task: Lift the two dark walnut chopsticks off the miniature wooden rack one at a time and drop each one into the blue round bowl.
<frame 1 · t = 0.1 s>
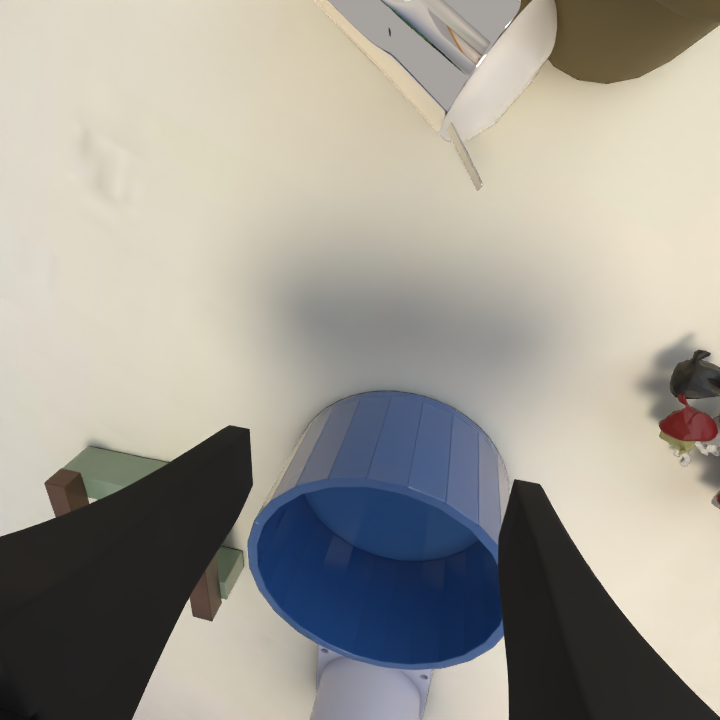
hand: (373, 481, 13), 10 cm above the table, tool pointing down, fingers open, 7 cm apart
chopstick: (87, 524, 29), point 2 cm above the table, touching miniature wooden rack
blue round bowl: (397, 482, 26), on the table
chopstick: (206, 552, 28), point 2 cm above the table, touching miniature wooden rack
miniature wooden rack: (168, 508, 31), on the table
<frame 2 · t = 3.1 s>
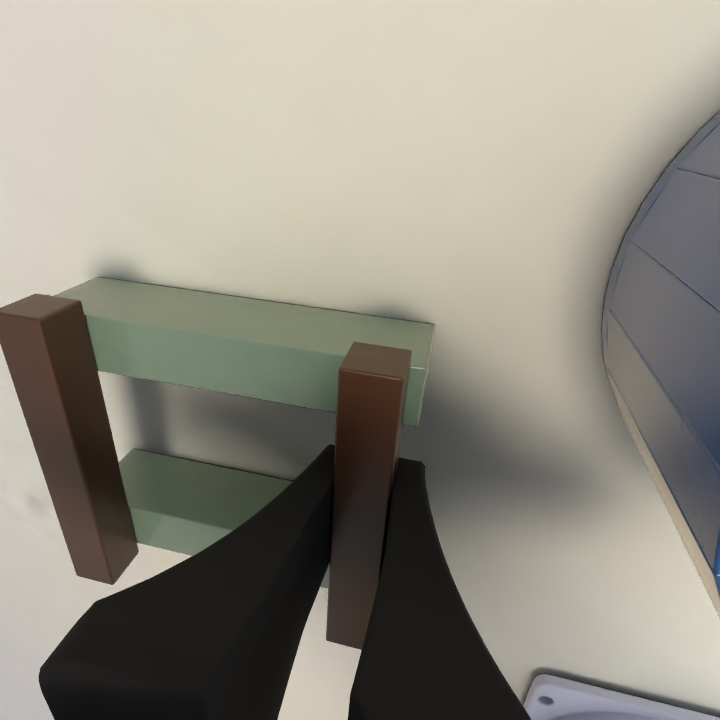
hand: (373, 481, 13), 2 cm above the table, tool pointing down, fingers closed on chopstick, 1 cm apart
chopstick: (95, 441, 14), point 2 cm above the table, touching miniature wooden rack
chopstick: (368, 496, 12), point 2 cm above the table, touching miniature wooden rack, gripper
miniature wooden rack: (261, 416, 15), on the table
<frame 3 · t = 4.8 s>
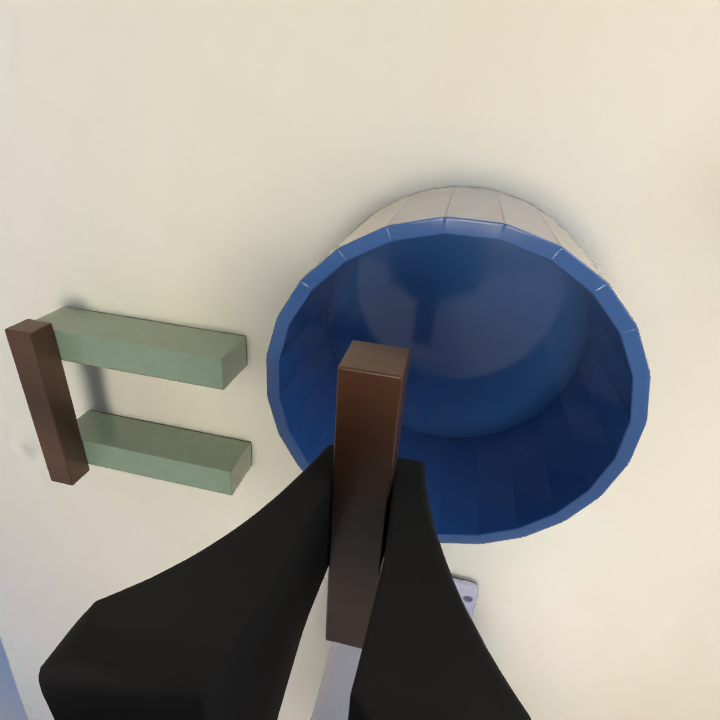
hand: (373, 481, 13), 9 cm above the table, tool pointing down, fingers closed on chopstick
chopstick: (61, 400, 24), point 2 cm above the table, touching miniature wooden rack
blue round bowl: (450, 327, 20), on the table
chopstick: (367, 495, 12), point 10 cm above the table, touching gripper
miniature wooden rack: (162, 389, 25), on the table
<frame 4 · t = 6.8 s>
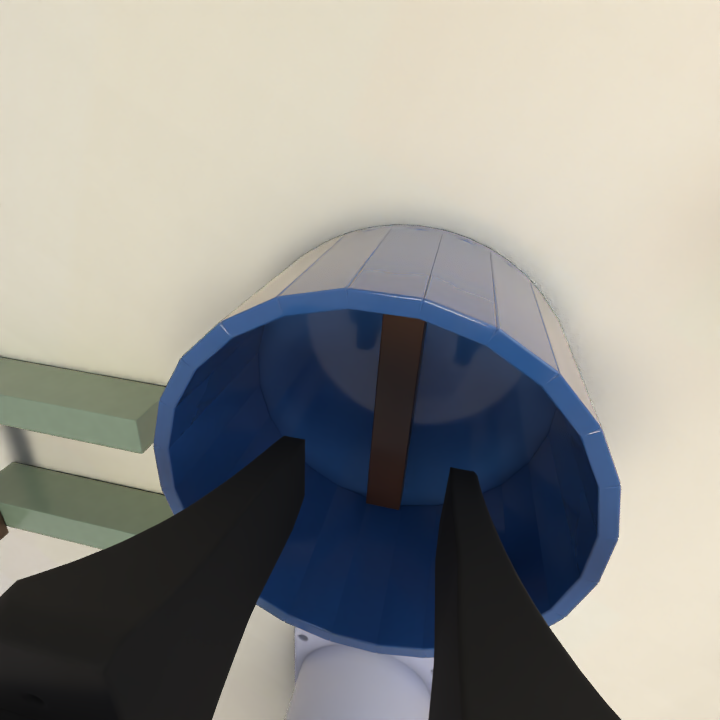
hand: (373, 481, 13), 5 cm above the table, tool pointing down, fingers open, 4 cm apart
blue round bowl: (401, 383, 17), on the table
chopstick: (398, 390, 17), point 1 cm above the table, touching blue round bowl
miniature wooden rack: (88, 442, 23), on the table
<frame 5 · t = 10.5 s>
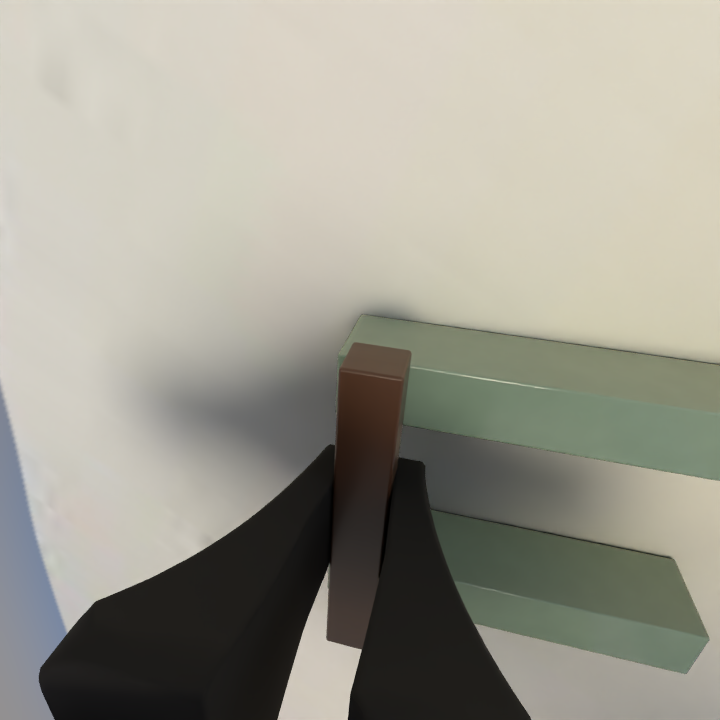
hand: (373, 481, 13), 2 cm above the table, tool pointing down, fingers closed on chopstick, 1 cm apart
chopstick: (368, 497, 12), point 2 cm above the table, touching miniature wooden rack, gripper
miniature wooden rack: (520, 464, 14), on the table
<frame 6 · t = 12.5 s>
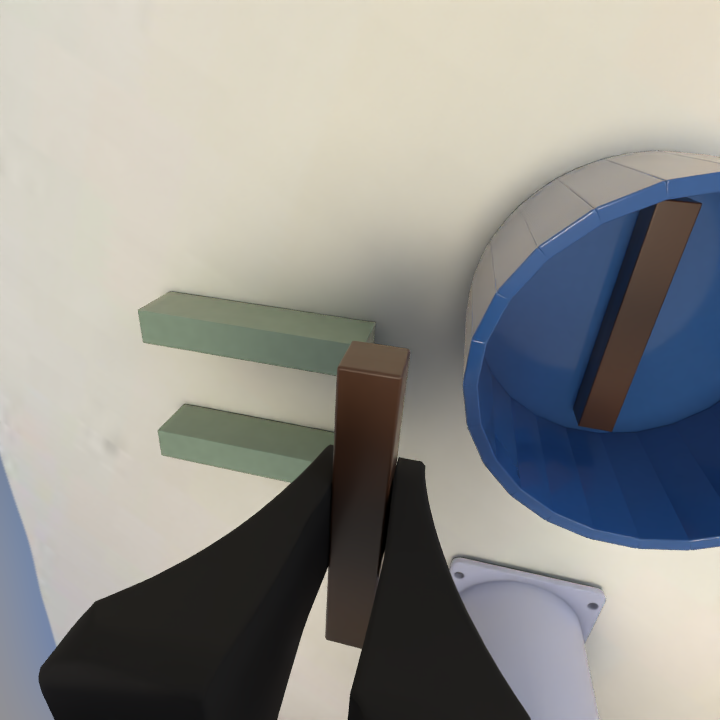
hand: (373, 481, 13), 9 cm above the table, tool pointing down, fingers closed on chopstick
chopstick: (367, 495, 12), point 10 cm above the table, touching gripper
blue round bowl: (618, 311, 19), on the table
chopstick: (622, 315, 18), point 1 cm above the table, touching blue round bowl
miniature wooden rack: (270, 380, 24), on the table
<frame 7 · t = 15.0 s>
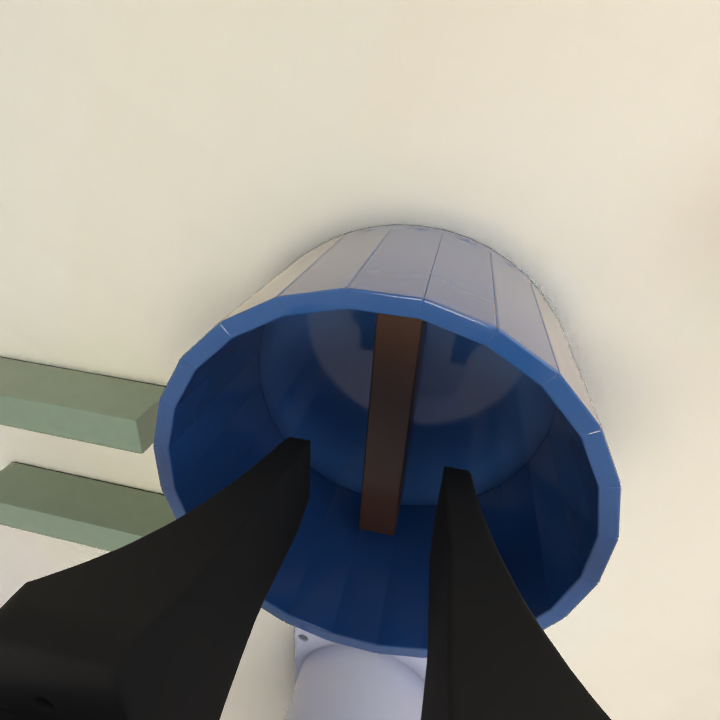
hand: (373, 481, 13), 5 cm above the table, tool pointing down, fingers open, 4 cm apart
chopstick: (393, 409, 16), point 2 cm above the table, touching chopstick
blue round bowl: (401, 383, 17), on the table
miniature wooden rack: (88, 442, 23), on the table
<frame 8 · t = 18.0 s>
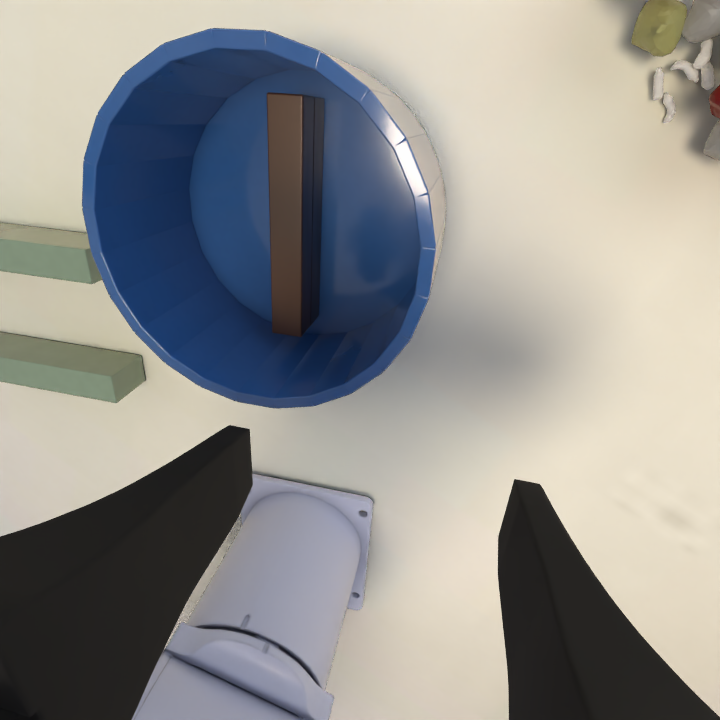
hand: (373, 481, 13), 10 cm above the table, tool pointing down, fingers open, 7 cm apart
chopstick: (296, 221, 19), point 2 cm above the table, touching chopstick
blue round bowl: (311, 215, 20), on the table
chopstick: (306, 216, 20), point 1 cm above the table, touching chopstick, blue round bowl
miniature wooden rack: (51, 301, 26), on the table
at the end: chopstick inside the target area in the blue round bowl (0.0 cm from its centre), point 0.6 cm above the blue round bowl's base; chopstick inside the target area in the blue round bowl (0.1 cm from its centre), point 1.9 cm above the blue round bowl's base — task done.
